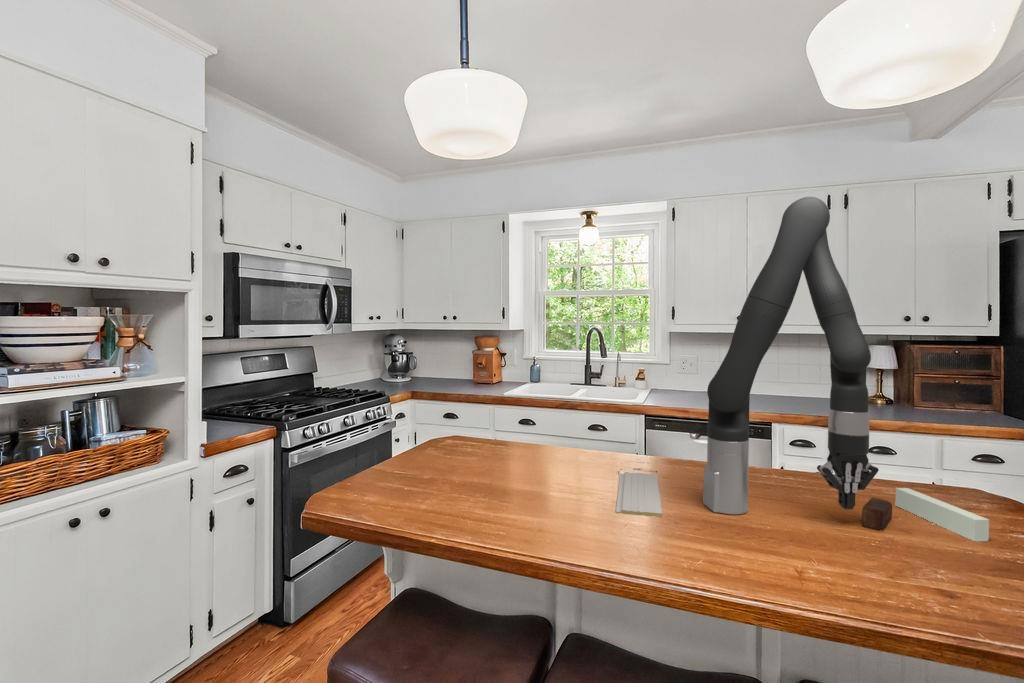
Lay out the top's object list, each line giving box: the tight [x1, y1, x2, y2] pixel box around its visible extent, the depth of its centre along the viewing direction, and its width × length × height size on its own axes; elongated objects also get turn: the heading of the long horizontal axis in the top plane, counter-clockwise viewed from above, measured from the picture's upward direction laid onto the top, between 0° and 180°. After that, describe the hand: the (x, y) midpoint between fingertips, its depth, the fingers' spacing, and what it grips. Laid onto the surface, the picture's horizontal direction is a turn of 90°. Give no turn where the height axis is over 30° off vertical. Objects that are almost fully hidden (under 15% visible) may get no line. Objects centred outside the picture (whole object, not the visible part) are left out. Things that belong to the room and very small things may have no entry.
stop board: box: [894, 487, 990, 542], centre depth 113 cm, size 3×20×4 cm, turn 3°
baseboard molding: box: [615, 467, 663, 518], centre depth 132 cm, size 31×3×12 cm
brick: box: [861, 497, 893, 532], centre depth 113 cm, size 11×4×5 cm, turn 134°
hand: (846, 508), depth 111 cm, fingers closed
